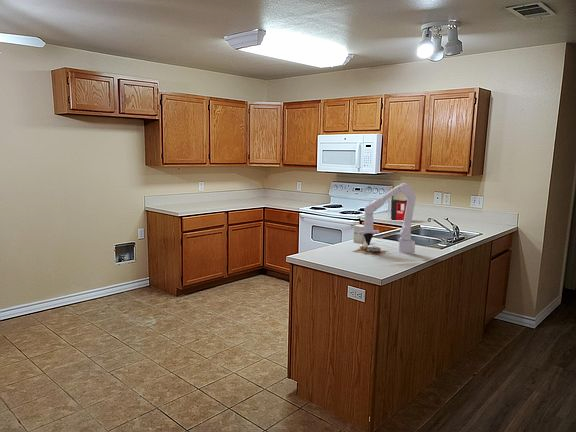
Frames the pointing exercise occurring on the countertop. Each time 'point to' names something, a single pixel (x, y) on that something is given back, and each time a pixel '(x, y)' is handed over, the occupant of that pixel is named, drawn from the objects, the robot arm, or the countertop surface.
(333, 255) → the countertop surface
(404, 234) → the robot arm
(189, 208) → the countertop surface
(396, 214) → the cleaning product box
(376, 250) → the capstan dial
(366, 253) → the stand base
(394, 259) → the countertop surface
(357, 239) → the supplement box
